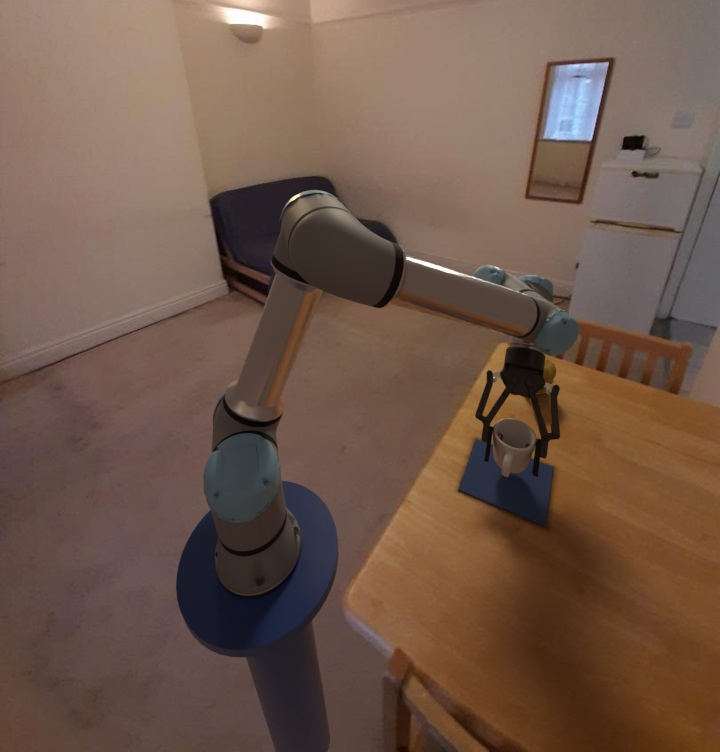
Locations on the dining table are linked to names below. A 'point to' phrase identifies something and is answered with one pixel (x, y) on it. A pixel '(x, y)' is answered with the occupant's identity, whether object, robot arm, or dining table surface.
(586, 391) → the dining table surface
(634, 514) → the dining table surface
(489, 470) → the napkin
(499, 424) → the cup
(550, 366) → the hamburger
